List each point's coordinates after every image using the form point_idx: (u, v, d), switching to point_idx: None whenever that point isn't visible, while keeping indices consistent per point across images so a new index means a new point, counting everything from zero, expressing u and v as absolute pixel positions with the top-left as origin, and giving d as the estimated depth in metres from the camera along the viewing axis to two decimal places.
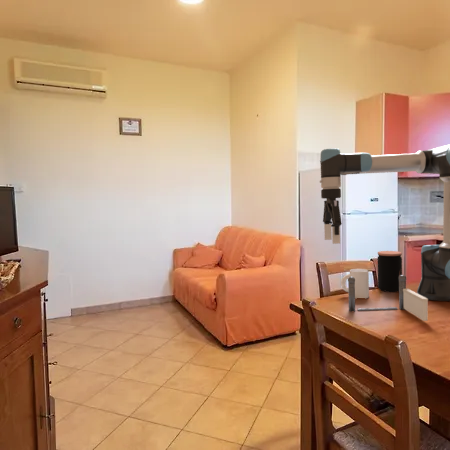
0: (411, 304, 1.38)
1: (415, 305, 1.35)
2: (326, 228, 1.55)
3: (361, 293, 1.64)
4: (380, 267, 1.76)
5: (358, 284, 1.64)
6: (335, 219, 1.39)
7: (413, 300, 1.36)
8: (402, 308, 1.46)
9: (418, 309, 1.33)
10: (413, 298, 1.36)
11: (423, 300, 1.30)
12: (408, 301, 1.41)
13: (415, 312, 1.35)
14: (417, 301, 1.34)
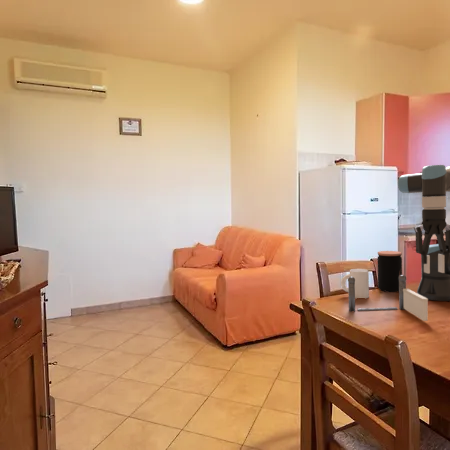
0: (411, 304, 1.38)
1: (415, 305, 1.35)
2: (439, 259, 1.36)
3: (361, 293, 1.64)
4: (380, 267, 1.76)
5: (358, 284, 1.64)
6: (416, 247, 1.36)
7: (413, 300, 1.36)
8: (402, 308, 1.46)
9: (418, 309, 1.33)
10: (413, 298, 1.36)
11: (423, 300, 1.30)
12: (408, 301, 1.41)
13: (415, 312, 1.35)
14: (417, 301, 1.34)
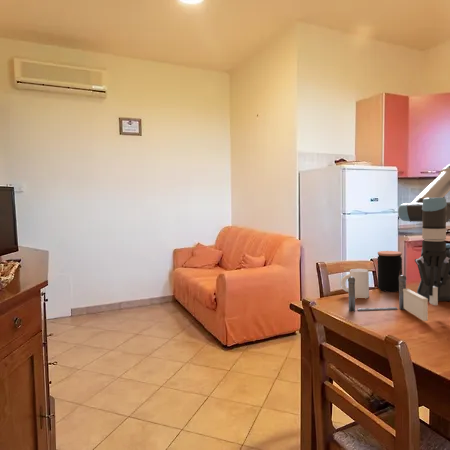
0: (411, 304, 1.38)
1: (415, 305, 1.35)
2: None
3: (361, 293, 1.64)
4: (380, 267, 1.76)
5: (358, 284, 1.64)
6: (421, 279, 1.36)
7: (413, 300, 1.36)
8: (402, 308, 1.46)
9: (418, 309, 1.33)
10: (413, 298, 1.36)
11: (423, 300, 1.30)
12: (408, 301, 1.41)
13: (415, 312, 1.35)
14: (417, 301, 1.34)
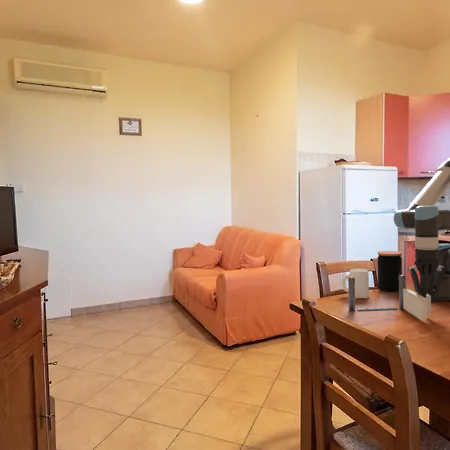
0: (410, 304, 1.38)
1: (414, 305, 1.35)
2: None
3: (361, 293, 1.64)
4: (380, 267, 1.76)
5: (358, 284, 1.64)
6: (414, 287, 1.36)
7: (413, 300, 1.36)
8: (402, 308, 1.46)
9: (417, 309, 1.33)
10: (412, 298, 1.37)
11: (422, 300, 1.30)
12: (408, 301, 1.41)
13: (414, 312, 1.35)
14: (416, 301, 1.34)
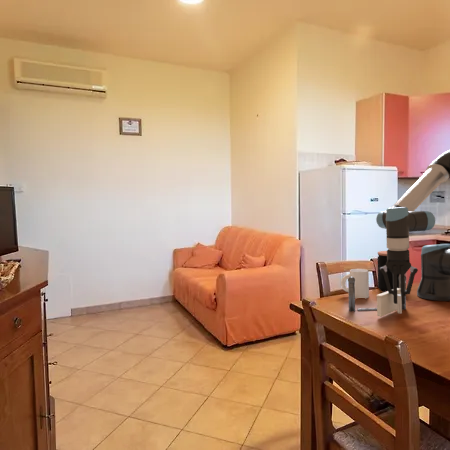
0: None
1: None
2: None
3: (361, 293, 1.64)
4: None
5: (358, 284, 1.64)
6: None
7: None
8: (402, 308, 1.46)
9: None
10: None
11: (377, 296, 1.37)
12: None
13: None
14: None
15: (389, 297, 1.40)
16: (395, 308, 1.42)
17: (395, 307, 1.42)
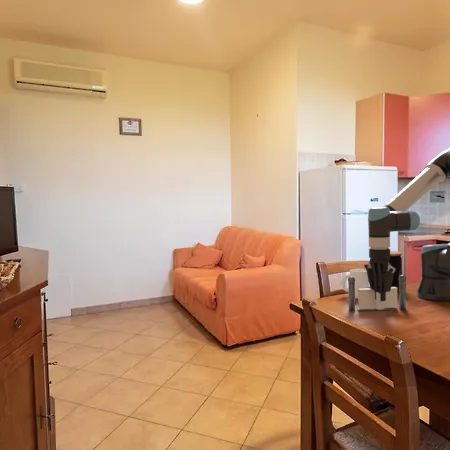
0: None
1: None
2: None
3: None
4: None
5: (358, 284, 1.64)
6: None
7: None
8: (402, 308, 1.46)
9: None
10: None
11: (358, 290, 1.47)
12: None
13: None
14: None
15: None
16: (386, 305, 1.46)
17: (386, 304, 1.46)
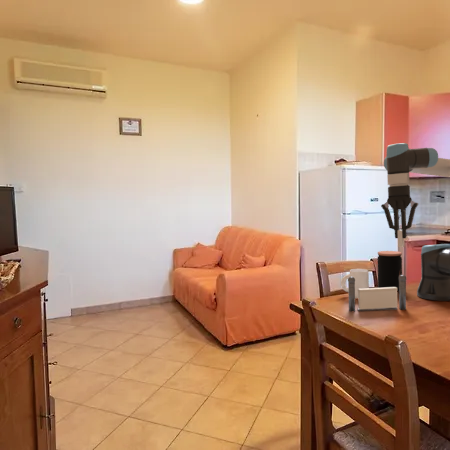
0: None
1: None
2: None
3: None
4: (380, 267, 1.76)
5: (358, 284, 1.64)
6: None
7: None
8: (402, 308, 1.46)
9: None
10: None
11: (358, 290, 1.47)
12: None
13: None
14: None
15: (375, 293, 1.46)
16: (386, 305, 1.46)
17: (386, 304, 1.46)
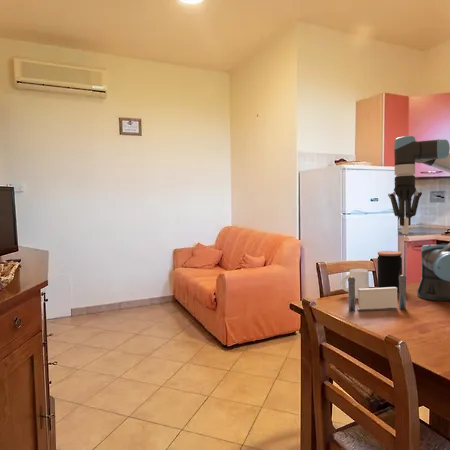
0: None
1: None
2: None
3: None
4: (380, 267, 1.76)
5: (358, 284, 1.64)
6: (394, 211, 1.52)
7: None
8: (402, 308, 1.46)
9: None
10: None
11: (358, 290, 1.47)
12: None
13: None
14: None
15: (375, 293, 1.46)
16: (386, 305, 1.46)
17: (386, 304, 1.46)
